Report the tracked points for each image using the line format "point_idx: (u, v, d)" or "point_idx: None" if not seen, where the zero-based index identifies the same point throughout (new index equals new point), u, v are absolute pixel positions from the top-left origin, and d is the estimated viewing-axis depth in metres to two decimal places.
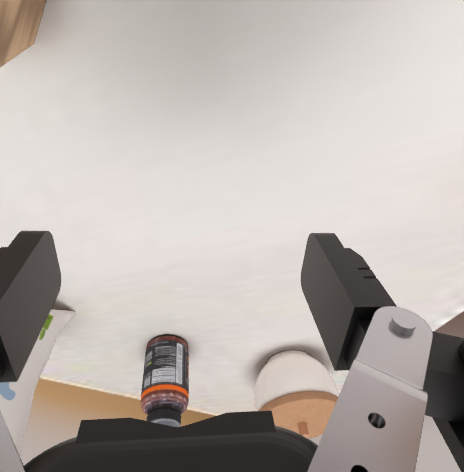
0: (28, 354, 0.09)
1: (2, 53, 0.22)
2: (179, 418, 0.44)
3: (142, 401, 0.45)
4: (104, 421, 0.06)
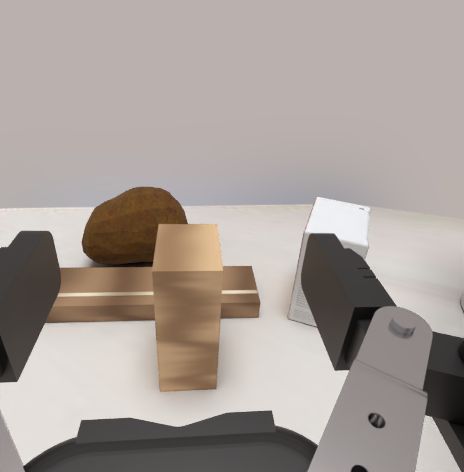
0: (28, 354, 0.09)
1: (170, 334, 0.26)
2: None
3: None
4: (104, 421, 0.06)
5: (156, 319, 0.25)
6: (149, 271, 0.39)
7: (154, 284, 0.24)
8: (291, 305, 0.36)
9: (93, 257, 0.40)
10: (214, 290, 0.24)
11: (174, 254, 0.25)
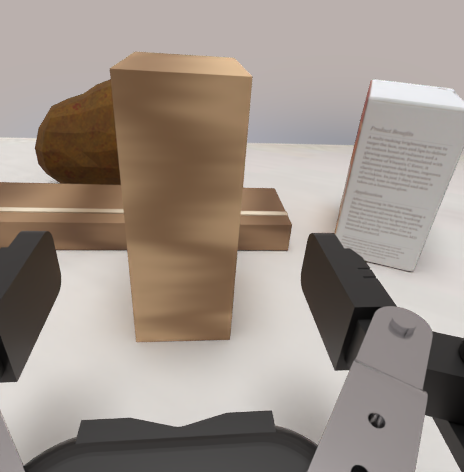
0: (28, 354, 0.09)
1: (150, 226, 0.14)
2: None
3: None
4: (104, 422, 0.06)
5: (124, 190, 0.14)
6: None
7: (116, 103, 0.12)
8: (338, 230, 0.24)
9: (52, 171, 0.28)
10: (233, 126, 0.13)
11: (158, 64, 0.13)
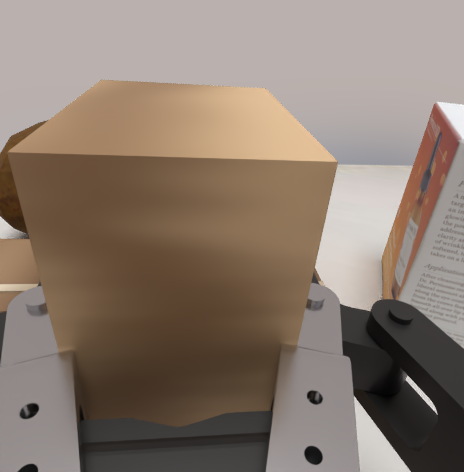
0: None
1: (122, 411, 0.08)
2: None
3: None
4: (104, 421, 0.06)
5: None
6: None
7: (32, 222, 0.05)
8: None
9: (11, 221, 0.22)
10: (288, 254, 0.06)
11: (131, 120, 0.07)
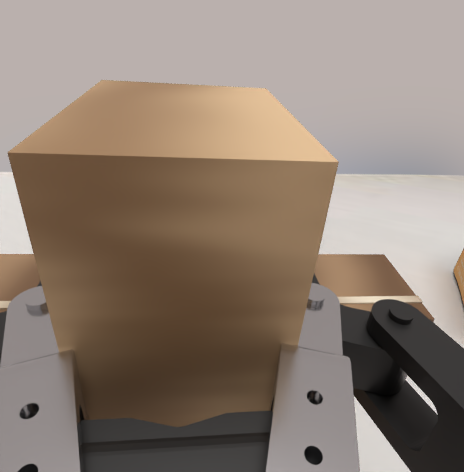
0: None
1: (122, 411, 0.08)
2: None
3: None
4: (104, 422, 0.06)
5: None
6: None
7: (33, 222, 0.05)
8: None
9: None
10: (288, 255, 0.06)
11: (132, 120, 0.07)
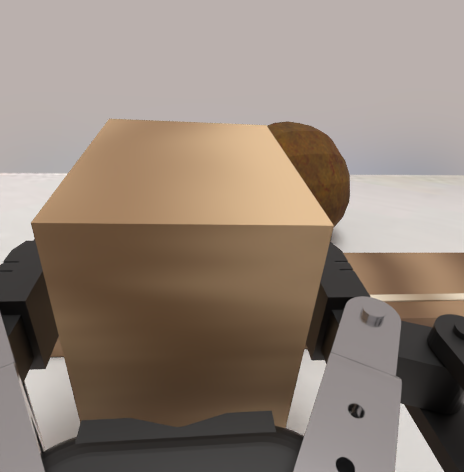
0: (54, 343, 0.10)
1: None
2: None
3: None
4: (104, 422, 0.06)
5: (80, 402, 0.07)
6: None
7: (52, 281, 0.06)
8: None
9: None
10: (287, 304, 0.07)
11: (141, 175, 0.07)
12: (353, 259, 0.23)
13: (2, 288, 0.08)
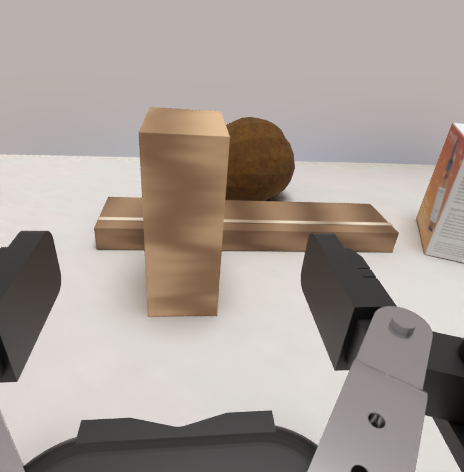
0: (28, 354, 0.09)
1: (161, 232, 0.21)
2: None
3: None
4: (104, 421, 0.06)
5: (144, 208, 0.20)
6: (264, 204, 0.36)
7: (142, 153, 0.19)
8: (433, 237, 0.33)
9: None
10: (218, 167, 0.19)
11: (168, 124, 0.20)
12: (290, 205, 0.36)
13: None
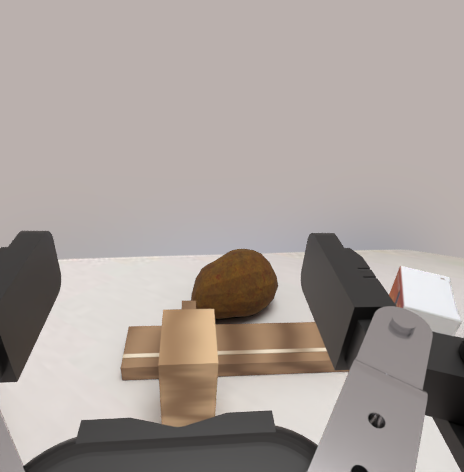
0: (28, 354, 0.09)
1: (172, 410, 0.30)
2: None
3: None
4: (104, 422, 0.06)
5: (161, 399, 0.30)
6: (252, 328, 0.45)
7: (160, 374, 0.28)
8: None
9: None
10: (211, 377, 0.29)
11: (177, 345, 0.29)
12: (272, 327, 0.45)
13: None
